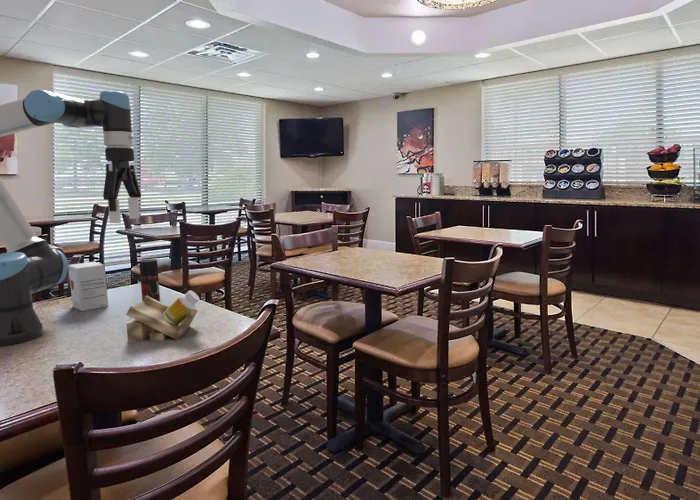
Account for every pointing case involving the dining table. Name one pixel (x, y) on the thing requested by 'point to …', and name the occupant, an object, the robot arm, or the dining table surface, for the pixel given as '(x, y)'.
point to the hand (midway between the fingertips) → (125, 220)
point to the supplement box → (88, 285)
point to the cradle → (154, 322)
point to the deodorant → (149, 279)
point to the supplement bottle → (181, 308)
